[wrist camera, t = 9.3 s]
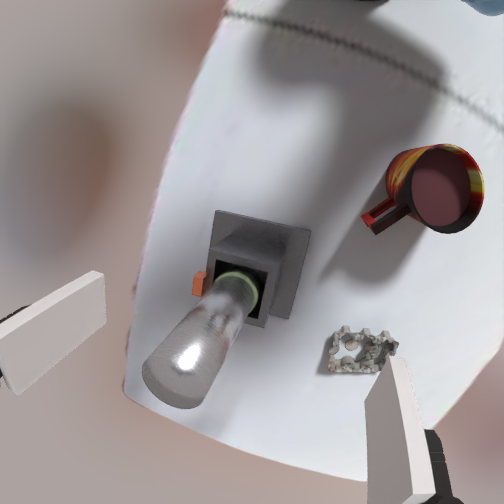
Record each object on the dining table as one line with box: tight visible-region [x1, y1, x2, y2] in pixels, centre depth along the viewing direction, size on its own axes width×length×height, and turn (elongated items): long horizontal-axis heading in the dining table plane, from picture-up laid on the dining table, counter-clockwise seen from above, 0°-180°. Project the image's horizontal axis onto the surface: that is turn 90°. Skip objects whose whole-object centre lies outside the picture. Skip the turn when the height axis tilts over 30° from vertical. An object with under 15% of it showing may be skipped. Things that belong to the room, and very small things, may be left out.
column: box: [142, 266, 261, 409], centre depth 29 cm, size 6×6×20 cm
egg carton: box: [328, 326, 399, 373], centre depth 44 cm, size 11×8×4 cm
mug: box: [361, 144, 484, 235], centre depth 33 cm, size 10×14×12 cm
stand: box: [192, 210, 311, 328], centre depth 41 cm, size 14×14×12 cm
